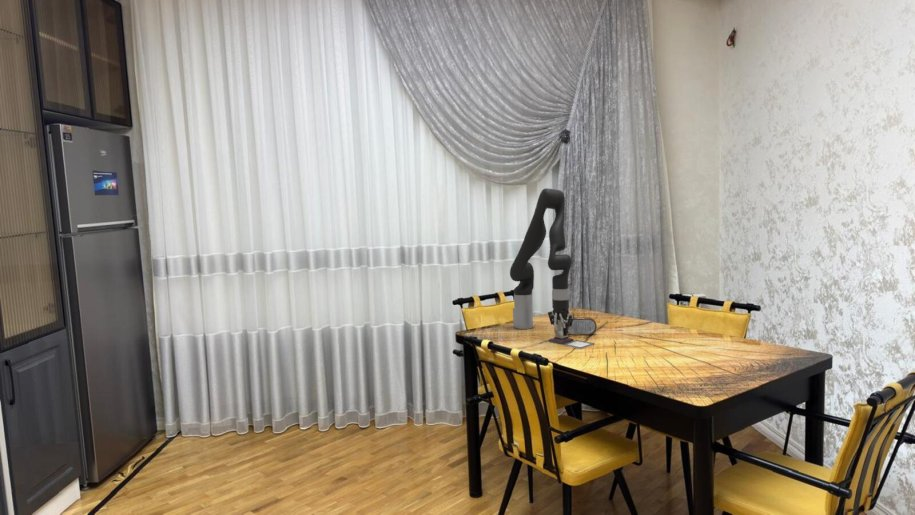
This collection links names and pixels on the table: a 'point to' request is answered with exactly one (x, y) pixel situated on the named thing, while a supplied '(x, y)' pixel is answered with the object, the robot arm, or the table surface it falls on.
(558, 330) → the stamp
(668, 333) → the table surface
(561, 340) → the ink pad
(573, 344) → the marked box
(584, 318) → the tin
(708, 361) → the table surface
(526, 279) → the robot arm
